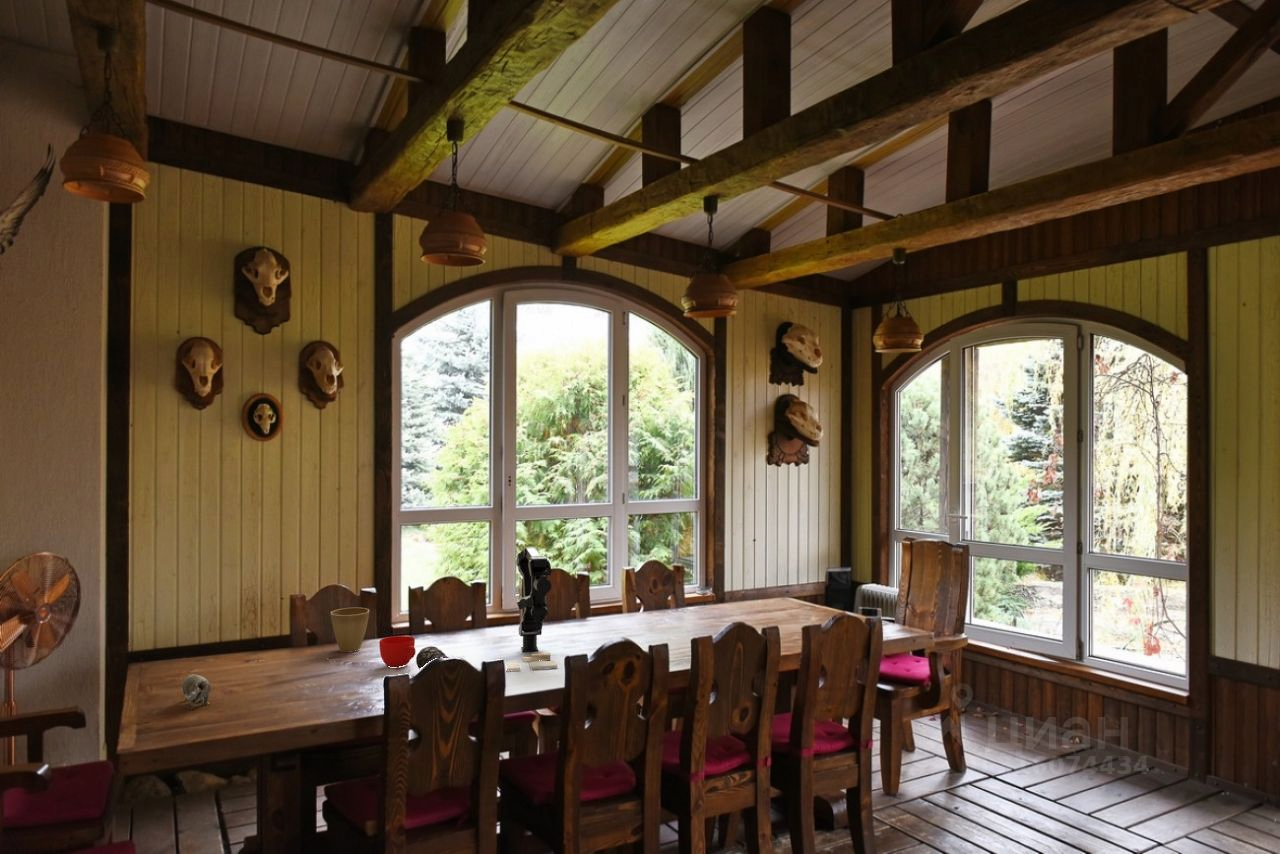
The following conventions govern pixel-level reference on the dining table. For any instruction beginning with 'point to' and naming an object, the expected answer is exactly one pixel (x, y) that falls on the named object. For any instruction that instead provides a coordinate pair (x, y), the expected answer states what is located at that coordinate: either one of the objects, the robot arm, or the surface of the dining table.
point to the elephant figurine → (196, 689)
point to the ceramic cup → (397, 650)
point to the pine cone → (428, 655)
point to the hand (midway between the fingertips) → (538, 629)
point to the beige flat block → (537, 657)
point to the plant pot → (349, 627)
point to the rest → (543, 664)
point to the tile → (513, 666)
